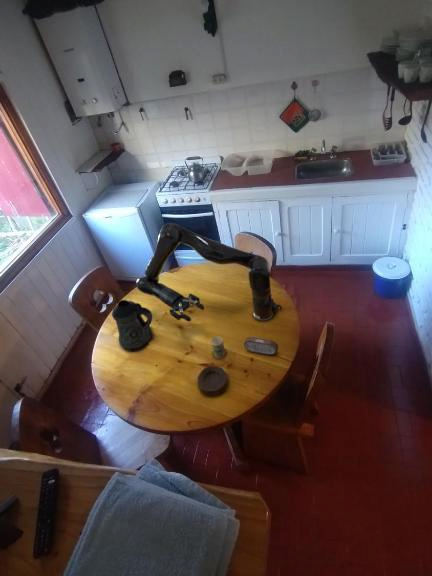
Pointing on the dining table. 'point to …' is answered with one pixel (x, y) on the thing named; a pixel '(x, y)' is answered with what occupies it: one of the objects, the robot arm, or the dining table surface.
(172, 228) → the robot arm
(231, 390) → the dining table surface
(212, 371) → the stand
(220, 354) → the disc stack
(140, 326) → the beer stein
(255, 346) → the tin
